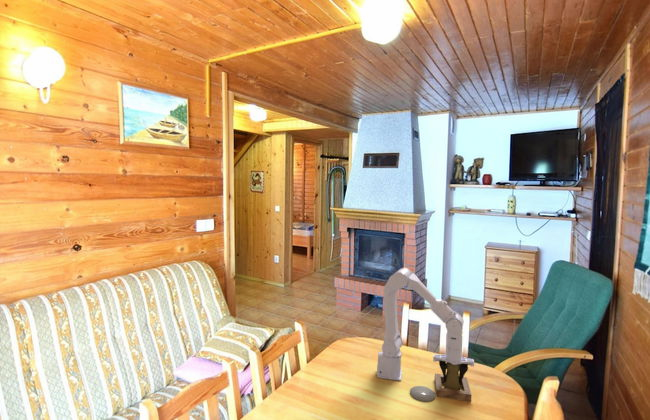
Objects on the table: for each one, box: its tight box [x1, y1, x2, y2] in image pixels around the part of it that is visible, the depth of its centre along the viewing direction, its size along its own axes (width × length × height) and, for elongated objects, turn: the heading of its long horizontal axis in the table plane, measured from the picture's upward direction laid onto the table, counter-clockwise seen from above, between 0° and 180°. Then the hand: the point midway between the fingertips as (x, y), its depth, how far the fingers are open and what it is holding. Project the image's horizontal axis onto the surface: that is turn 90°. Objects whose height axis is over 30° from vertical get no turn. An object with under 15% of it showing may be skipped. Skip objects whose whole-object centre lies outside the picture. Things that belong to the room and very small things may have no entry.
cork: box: [443, 362, 461, 390], centre depth 137 cm, size 6×6×11 cm
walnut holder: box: [434, 373, 472, 402], centre depth 138 cm, size 12×12×2 cm
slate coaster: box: [409, 385, 436, 403], centre depth 135 cm, size 9×9×1 cm
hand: (452, 381), depth 138 cm, fingers closed on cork, 5 cm apart
